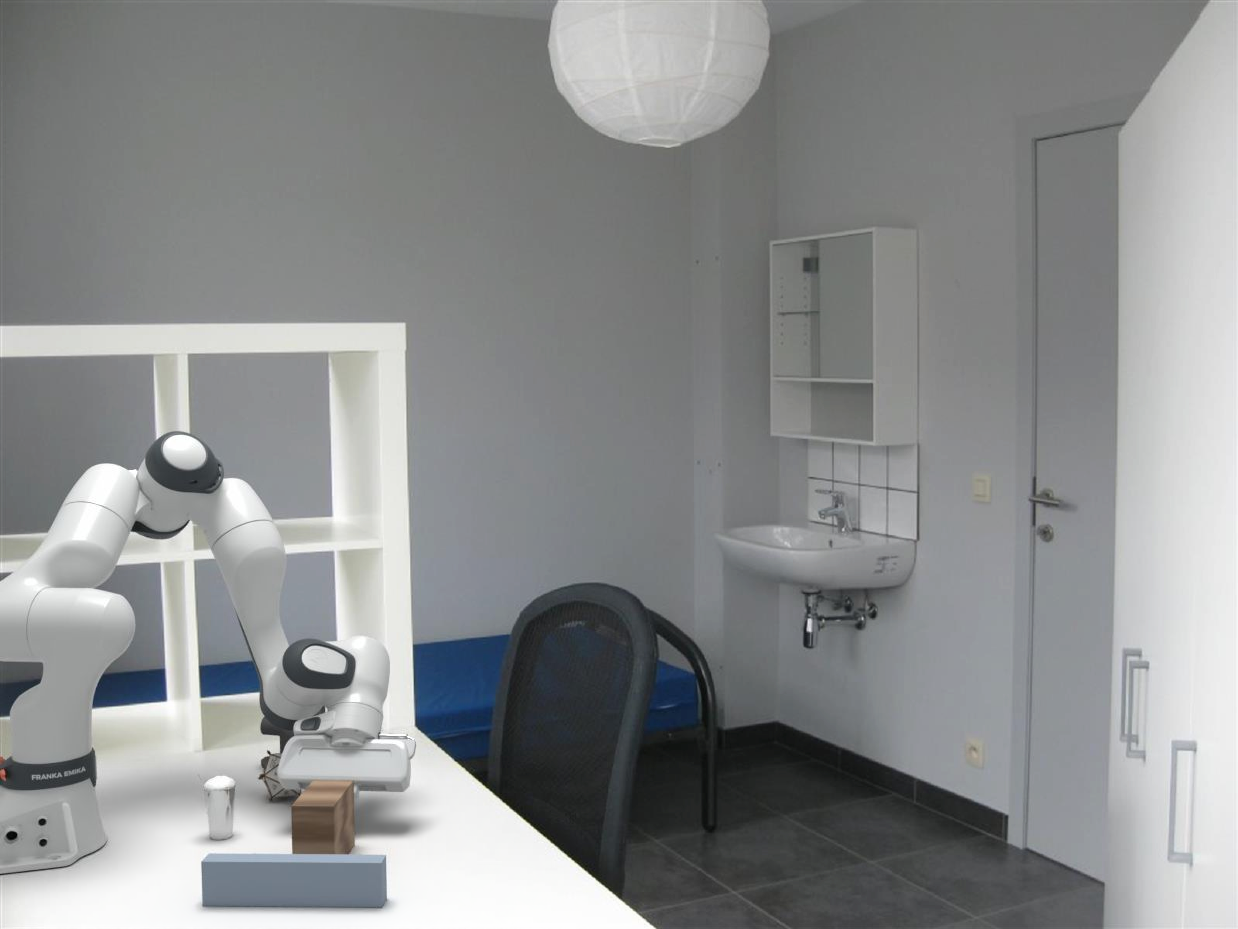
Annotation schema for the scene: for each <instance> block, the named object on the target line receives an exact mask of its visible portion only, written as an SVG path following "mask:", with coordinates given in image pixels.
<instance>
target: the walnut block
mask: <svg viewBox="0 0 1238 929" xmlns="http://www.w3.org/2000/svg"><path fill="white" fill-rule="evenodd" d="M300 794H301V795H300V796H299V795H298V797H297V799H295V801H294V802H293V803H292V804H291V806H290V807H291V808H290V810H291V816H290V817H291V818H290V820H291V850H292V851H291V852H292V853H291V854H350V853H351V852H352V850H353V849H354V848H355V844H356V836H355V835H356V834H355V832H356V831H355V829H356V828H355V802H354V780H313V781H312V782H311V783H310V785H309V786H308V787H307V788H306V789H305V790H303V792H302V793H300Z"/></svg>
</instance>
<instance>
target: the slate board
mask: <svg viewBox="0 0 1238 929" xmlns="http://www.w3.org/2000/svg"><path fill="white" fill-rule="evenodd" d="M200 862H201V863H200V864H201V865H200V867H201V896H202V898H201V900H202V902H201V903H202V906H203V907H208V906H209V907H287V908H288V907H295V908H297V907H299V908H300V907H305V908H307V907H308V908H309V907H310V908H314V907H315V908H317V907H318V908H323V907H324V908H383V906H384V905H385V903H386V901H387V899H388V887H387V886H388V885H387V884H388V883H387V881H388V880H387V855H386V854H354V853H353V854H350V853H349V854H292V853H219V852H218V853H216V852H215V853H210V852H209V853H208V854H207V855H206V856H205V857H204V858H203V859H202V860H201V861H200Z"/></svg>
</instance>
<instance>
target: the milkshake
mask: <svg viewBox="0 0 1238 929" xmlns="http://www.w3.org/2000/svg"><path fill="white" fill-rule="evenodd" d="M198 777H199V779H200V780H201V783H202V785H203V788H204V796H205V802H206V803H205V804H206V810H207V811H206V813H207V822H208V829H209V830H208V832H209V838H210V839H212V840H214V841H215V840H216V841H222V840H227V839H230V838H231V837H232V836H233V833H234V832H233V829H234V812H235V810H234V809H235V794H236V793H235V792H236V782H235V780H234V779H233V778H232V777H229V776H227V775H215V776H214V777H213V778H209V779H208V780H207V781H206V782H205V783H204V782H203V780H202V778H201V776H200V774H198Z"/></svg>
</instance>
